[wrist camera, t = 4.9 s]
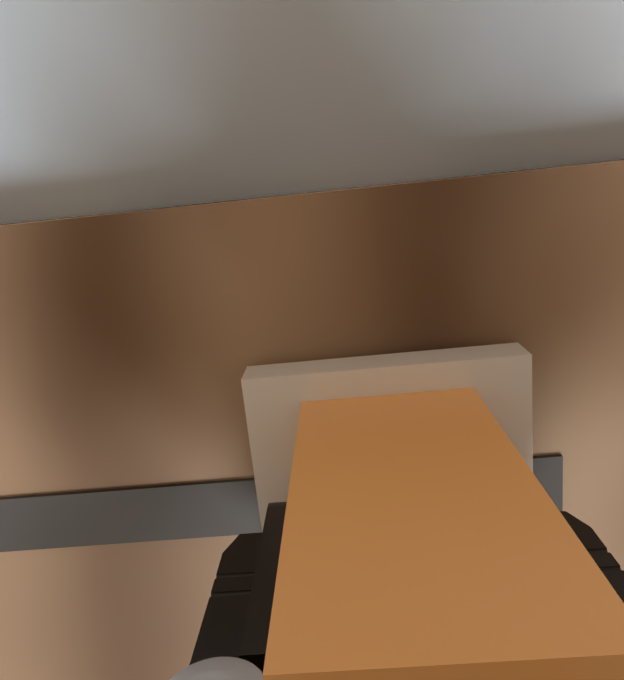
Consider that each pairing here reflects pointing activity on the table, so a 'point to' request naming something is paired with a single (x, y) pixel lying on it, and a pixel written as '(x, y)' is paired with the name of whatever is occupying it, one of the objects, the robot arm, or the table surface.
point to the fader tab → (420, 525)
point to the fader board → (261, 349)
